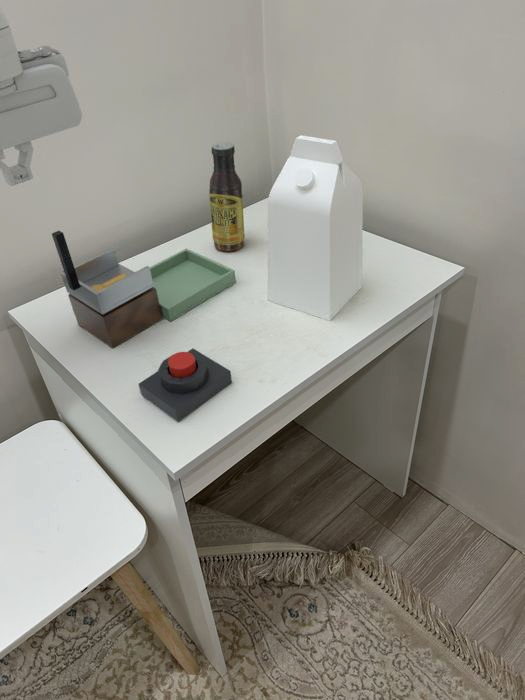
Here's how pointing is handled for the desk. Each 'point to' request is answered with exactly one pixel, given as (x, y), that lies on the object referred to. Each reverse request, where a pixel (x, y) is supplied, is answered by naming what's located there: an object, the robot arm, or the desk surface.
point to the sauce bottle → (226, 200)
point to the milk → (315, 230)
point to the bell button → (182, 364)
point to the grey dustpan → (100, 278)
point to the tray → (188, 282)
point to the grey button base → (185, 386)
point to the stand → (119, 318)
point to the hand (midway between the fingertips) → (20, 181)
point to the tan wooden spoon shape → (108, 283)
